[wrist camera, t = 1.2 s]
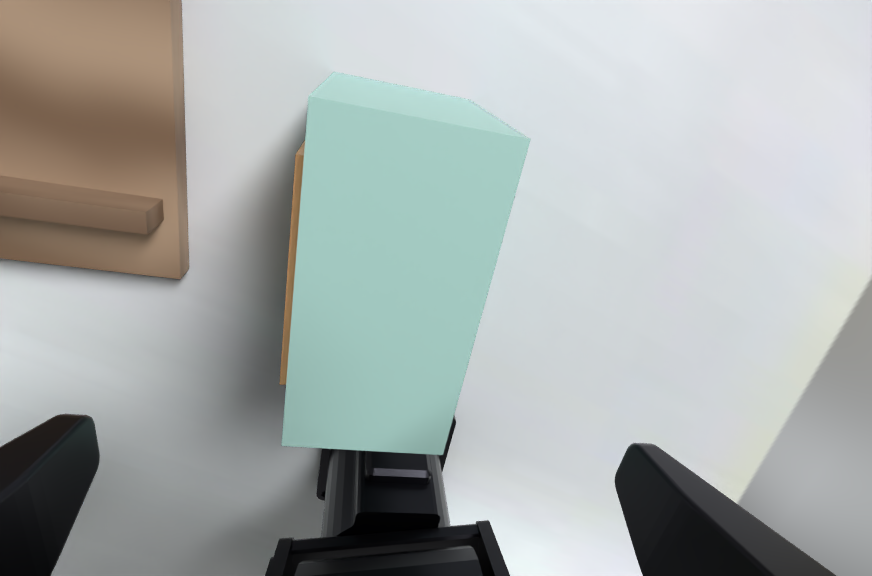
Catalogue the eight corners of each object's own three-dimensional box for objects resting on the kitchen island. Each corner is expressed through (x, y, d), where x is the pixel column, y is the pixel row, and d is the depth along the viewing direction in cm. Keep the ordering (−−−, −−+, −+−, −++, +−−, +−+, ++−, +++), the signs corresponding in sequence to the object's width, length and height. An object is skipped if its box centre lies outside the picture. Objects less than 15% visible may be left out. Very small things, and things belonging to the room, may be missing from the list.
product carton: (420, 323, 22) (442, 455, 15) (303, 311, 21) (271, 445, 14) (468, 99, 18) (530, 139, 11) (325, 69, 17) (293, 93, 10)
